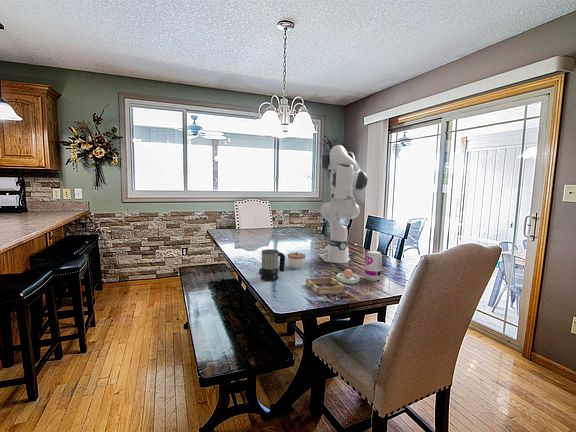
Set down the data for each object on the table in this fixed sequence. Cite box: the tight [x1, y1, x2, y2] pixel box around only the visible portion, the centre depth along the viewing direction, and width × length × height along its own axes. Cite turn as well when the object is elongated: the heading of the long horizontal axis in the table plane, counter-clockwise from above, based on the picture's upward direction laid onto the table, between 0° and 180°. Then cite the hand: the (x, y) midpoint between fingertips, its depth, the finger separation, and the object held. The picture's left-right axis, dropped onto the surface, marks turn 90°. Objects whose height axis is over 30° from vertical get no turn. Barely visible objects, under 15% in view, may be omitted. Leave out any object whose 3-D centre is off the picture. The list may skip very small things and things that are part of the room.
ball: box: [342, 268, 354, 278], centre depth 159 cm, size 5×5×5 cm
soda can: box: [364, 250, 383, 282], centre depth 161 cm, size 8×8×15 cm
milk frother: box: [258, 248, 286, 282], centre depth 160 cm, size 14×16×15 cm
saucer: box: [335, 272, 361, 285], centre depth 159 cm, size 12×12×2 cm
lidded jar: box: [287, 251, 306, 270], centre depth 179 cm, size 11×11×9 cm
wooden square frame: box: [305, 276, 346, 296], centre depth 145 cm, size 14×14×3 cm
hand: (342, 222), depth 153 cm, fingers open, 8 cm apart
